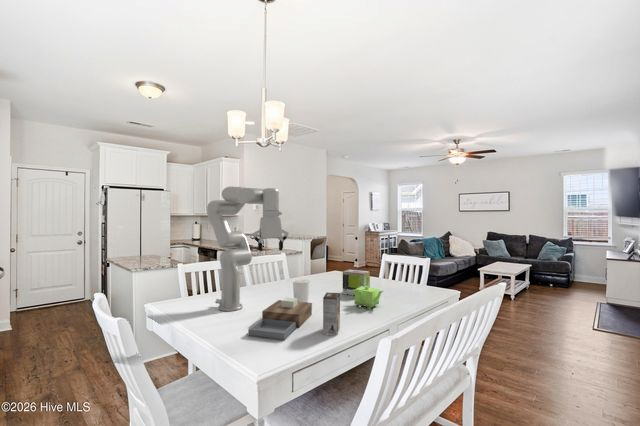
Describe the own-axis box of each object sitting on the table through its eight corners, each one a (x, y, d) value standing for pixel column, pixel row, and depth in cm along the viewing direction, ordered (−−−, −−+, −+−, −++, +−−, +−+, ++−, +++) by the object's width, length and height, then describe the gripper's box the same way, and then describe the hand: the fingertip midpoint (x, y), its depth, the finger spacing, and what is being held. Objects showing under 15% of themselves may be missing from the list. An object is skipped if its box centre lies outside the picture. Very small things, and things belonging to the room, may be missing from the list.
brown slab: (262, 323, 152) (262, 311, 152) (278, 311, 172) (278, 300, 172) (299, 327, 148) (299, 314, 148) (311, 314, 167) (311, 302, 167)
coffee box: (325, 327, 149) (326, 291, 149) (340, 328, 148) (340, 292, 148) (322, 334, 140) (322, 297, 140) (337, 335, 139) (337, 297, 139)
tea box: (370, 294, 211) (370, 271, 210) (363, 297, 202) (363, 273, 202) (349, 291, 219) (349, 268, 218) (341, 294, 210) (342, 270, 210)
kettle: (384, 309, 177) (384, 288, 177) (359, 311, 174) (359, 289, 174) (373, 301, 192) (373, 282, 192) (350, 303, 189) (350, 283, 189)
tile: (281, 306, 159) (281, 300, 159) (286, 303, 165) (286, 297, 165) (293, 307, 158) (293, 301, 158) (297, 304, 164) (297, 298, 164)
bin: (248, 336, 137) (248, 329, 137) (262, 325, 151) (262, 318, 151) (284, 340, 133) (284, 333, 133) (295, 328, 146) (295, 322, 146)
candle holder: (311, 302, 189) (312, 281, 189) (295, 304, 185) (295, 283, 185) (306, 298, 198) (306, 278, 198) (290, 300, 194) (290, 279, 194)
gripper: (285, 214, 162) (285, 249, 162) (250, 214, 155) (250, 250, 155) (290, 214, 155) (290, 250, 155) (254, 214, 149) (254, 252, 148)
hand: (270, 250), depth 155 cm, fingers open, 9 cm apart
